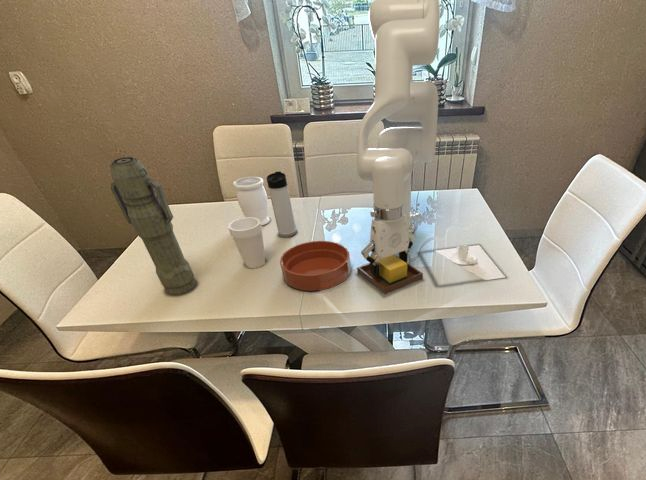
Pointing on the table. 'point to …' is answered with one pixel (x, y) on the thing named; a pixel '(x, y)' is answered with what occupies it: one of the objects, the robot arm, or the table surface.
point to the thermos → (151, 223)
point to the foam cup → (249, 240)
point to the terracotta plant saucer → (315, 265)
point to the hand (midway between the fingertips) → (389, 269)
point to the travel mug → (281, 204)
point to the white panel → (473, 261)
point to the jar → (252, 198)
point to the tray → (382, 286)
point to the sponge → (392, 269)
